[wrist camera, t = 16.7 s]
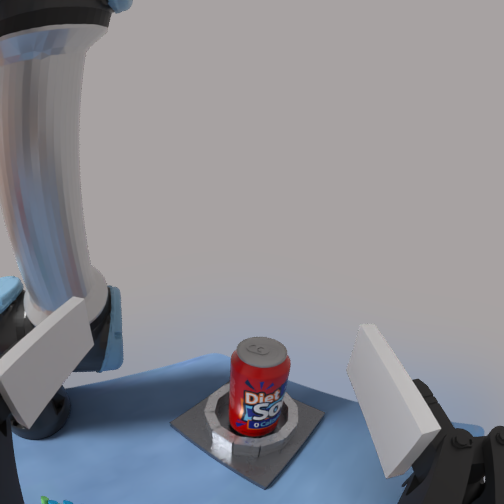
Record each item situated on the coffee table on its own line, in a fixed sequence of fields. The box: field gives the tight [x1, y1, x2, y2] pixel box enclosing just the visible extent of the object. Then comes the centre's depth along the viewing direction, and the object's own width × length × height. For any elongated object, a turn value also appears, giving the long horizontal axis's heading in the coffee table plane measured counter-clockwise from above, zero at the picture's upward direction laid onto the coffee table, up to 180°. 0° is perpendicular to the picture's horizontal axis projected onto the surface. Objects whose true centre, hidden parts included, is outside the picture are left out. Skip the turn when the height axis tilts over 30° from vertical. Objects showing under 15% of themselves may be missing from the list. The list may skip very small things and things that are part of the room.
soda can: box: [229, 337, 291, 437], centre depth 36 cm, size 8×8×15 cm
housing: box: [170, 381, 325, 490], centre depth 38 cm, size 18×18×4 cm
